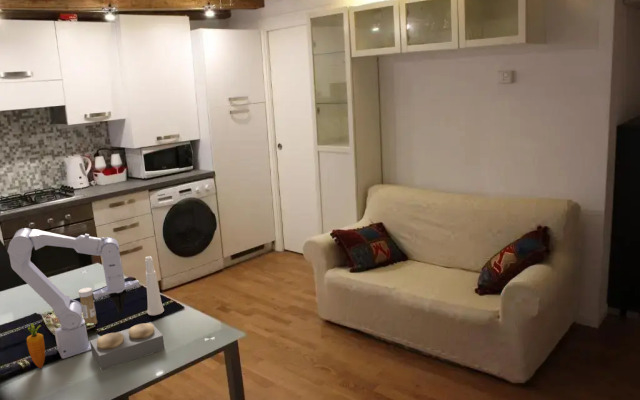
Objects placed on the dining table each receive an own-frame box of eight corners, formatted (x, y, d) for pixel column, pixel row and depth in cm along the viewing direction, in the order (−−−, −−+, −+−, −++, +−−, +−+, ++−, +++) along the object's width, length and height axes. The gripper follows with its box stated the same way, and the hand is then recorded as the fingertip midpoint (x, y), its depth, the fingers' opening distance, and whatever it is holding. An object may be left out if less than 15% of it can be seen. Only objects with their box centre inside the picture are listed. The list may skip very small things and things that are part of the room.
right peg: (135, 354, 179) (132, 337, 177) (127, 344, 185) (125, 328, 184) (159, 346, 183) (157, 329, 182) (151, 337, 190) (149, 320, 188)
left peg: (103, 365, 173) (100, 348, 172) (96, 354, 180) (93, 337, 178) (128, 356, 178) (126, 339, 176) (121, 346, 184) (119, 330, 183)
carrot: (35, 364, 177) (27, 321, 173) (51, 363, 177) (43, 320, 173) (29, 373, 172) (20, 329, 168) (45, 371, 172) (37, 327, 168)
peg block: (101, 370, 171) (99, 356, 170) (92, 354, 181) (89, 340, 180) (164, 349, 182) (162, 335, 181) (152, 335, 192) (150, 321, 190)
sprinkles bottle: (98, 324, 201) (93, 290, 198) (85, 328, 199) (79, 293, 195) (95, 319, 205) (90, 286, 202) (82, 323, 203) (77, 289, 199)
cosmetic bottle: (143, 314, 208) (136, 259, 202) (154, 307, 213) (147, 253, 207) (157, 316, 205) (149, 260, 200) (167, 309, 211) (160, 254, 205)
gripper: (94, 284, 176) (101, 323, 180) (139, 272, 184) (145, 309, 187) (88, 277, 182) (95, 315, 185) (133, 266, 189) (139, 302, 193)
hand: (120, 312), depth 187 cm, fingers closed
